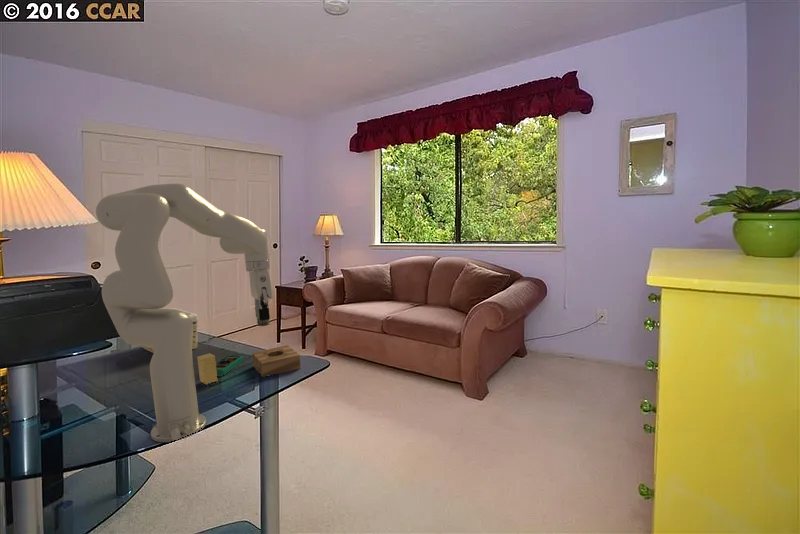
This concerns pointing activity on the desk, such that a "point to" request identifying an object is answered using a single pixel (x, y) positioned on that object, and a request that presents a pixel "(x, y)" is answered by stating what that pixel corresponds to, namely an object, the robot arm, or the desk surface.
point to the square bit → (207, 368)
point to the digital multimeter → (228, 363)
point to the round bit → (259, 323)
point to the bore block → (276, 360)
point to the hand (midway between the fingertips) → (262, 317)
